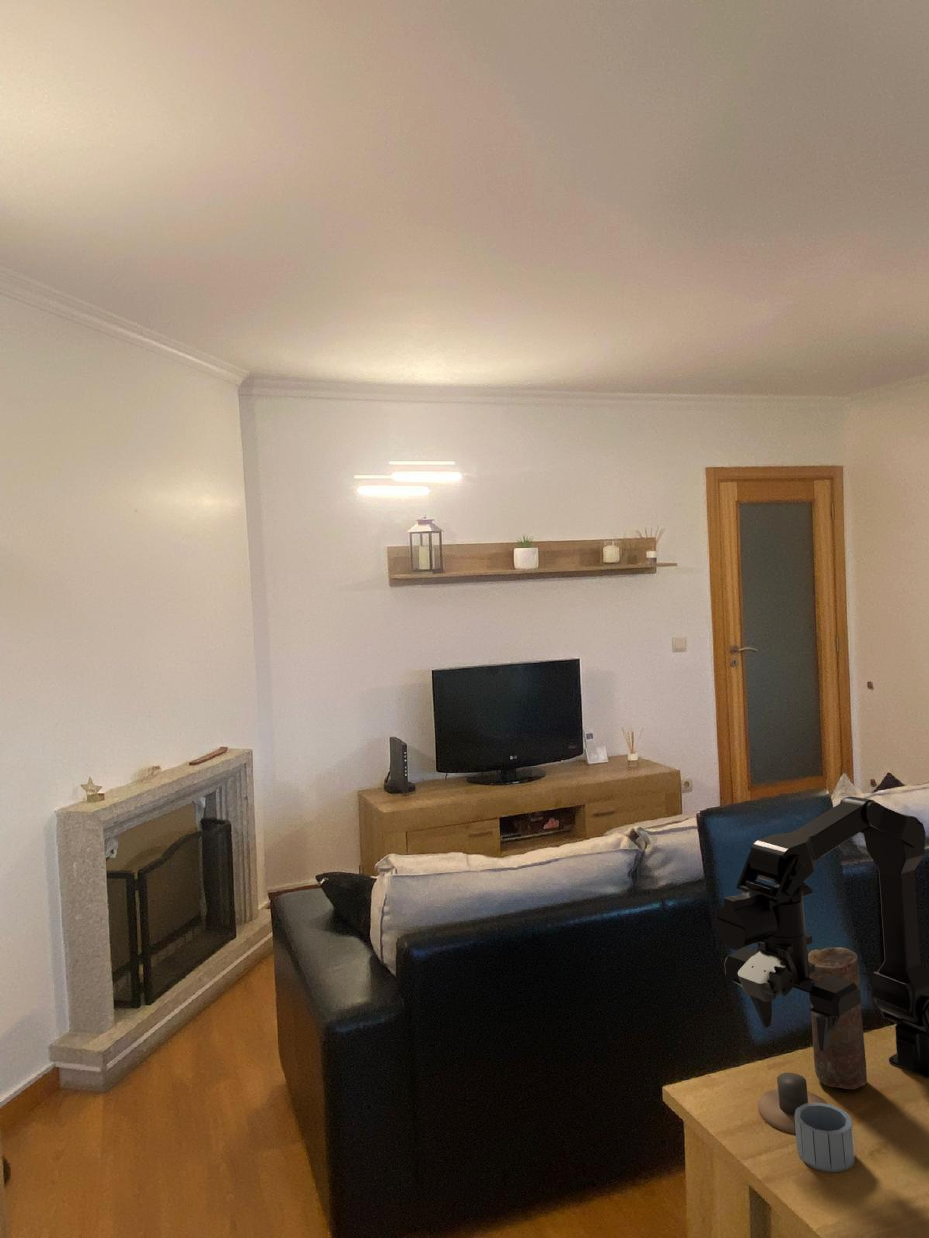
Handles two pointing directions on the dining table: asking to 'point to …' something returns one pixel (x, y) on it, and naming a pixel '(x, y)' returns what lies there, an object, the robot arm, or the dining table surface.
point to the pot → (824, 1137)
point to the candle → (840, 1025)
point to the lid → (785, 1101)
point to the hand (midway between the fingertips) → (794, 1038)
